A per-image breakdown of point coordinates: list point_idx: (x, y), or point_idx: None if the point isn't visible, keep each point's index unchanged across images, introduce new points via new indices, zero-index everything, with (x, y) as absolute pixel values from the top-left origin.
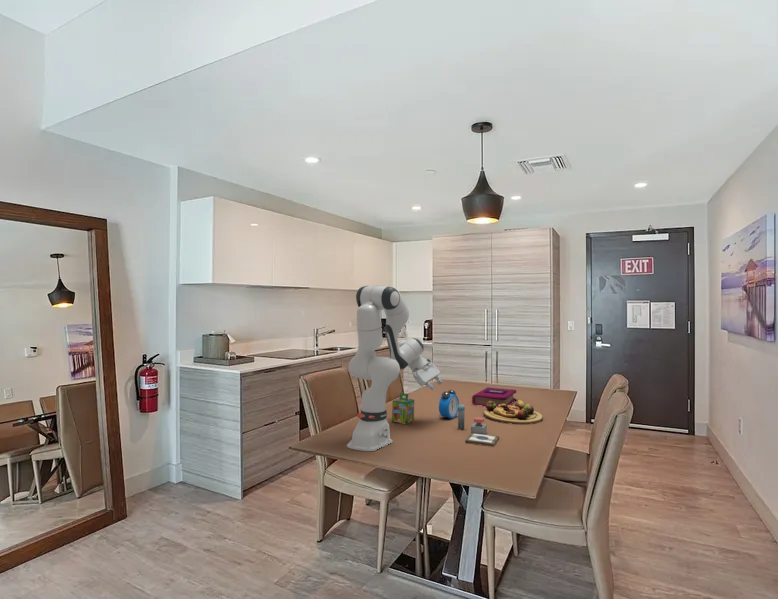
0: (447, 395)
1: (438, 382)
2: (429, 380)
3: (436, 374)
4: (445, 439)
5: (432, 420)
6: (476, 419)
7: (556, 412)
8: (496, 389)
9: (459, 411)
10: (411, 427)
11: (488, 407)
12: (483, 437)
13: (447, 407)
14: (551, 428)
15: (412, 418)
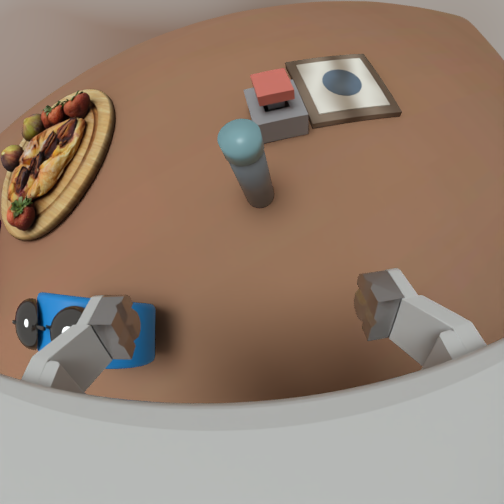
0: None
1: (126, 340)
2: (424, 375)
3: (39, 396)
4: (422, 178)
5: (209, 371)
6: (290, 83)
7: (17, 125)
8: None
9: (263, 155)
10: None
11: (31, 214)
12: (336, 80)
13: (143, 307)
14: (126, 54)
15: None
